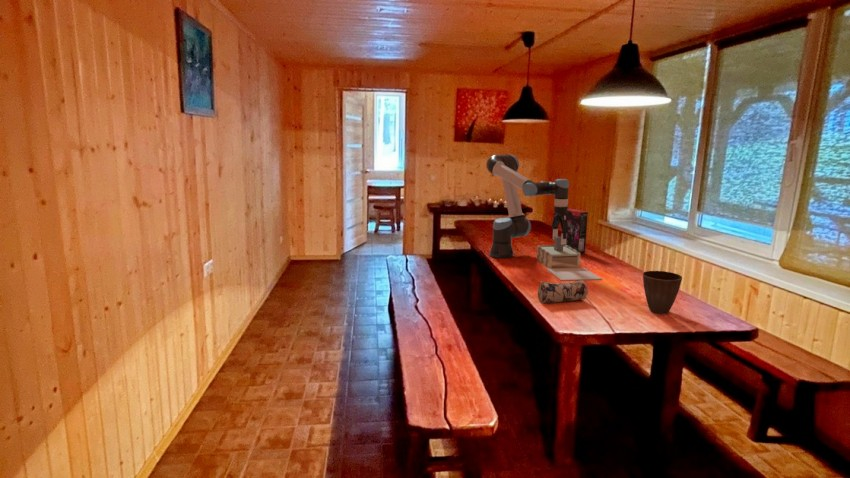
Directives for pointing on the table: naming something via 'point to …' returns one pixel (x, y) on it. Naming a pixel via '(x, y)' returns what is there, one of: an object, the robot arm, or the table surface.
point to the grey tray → (573, 274)
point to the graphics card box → (576, 229)
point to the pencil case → (562, 291)
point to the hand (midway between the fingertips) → (559, 242)
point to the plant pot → (661, 290)
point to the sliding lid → (559, 249)
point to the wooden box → (557, 258)
